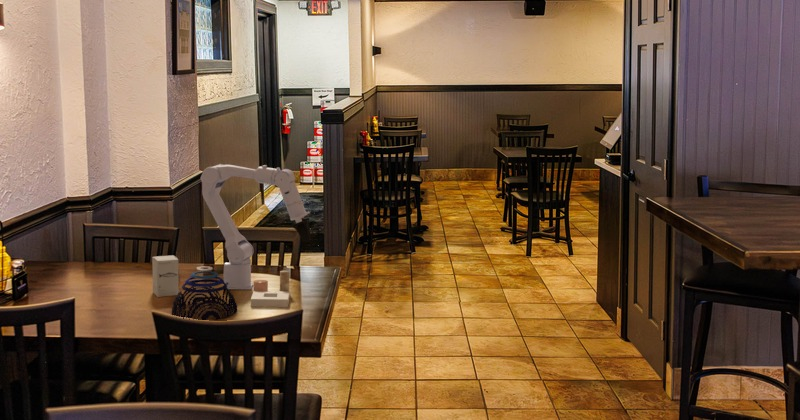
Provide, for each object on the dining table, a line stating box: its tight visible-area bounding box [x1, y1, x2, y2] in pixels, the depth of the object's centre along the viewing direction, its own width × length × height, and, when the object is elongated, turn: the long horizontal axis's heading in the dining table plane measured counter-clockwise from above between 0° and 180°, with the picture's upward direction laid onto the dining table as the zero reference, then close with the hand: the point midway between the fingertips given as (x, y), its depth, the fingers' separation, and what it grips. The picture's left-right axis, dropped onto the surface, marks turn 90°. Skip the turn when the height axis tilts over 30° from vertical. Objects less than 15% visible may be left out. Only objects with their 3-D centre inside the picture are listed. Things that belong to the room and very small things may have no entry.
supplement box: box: [151, 254, 180, 298], centre depth 292 cm, size 7×7×13 cm
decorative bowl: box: [171, 265, 238, 321], centre depth 273 cm, size 20×20×14 cm
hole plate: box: [250, 290, 291, 308], centre depth 287 cm, size 12×10×2 cm
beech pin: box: [279, 270, 290, 291], centre depth 297 cm, size 3×3×8 cm
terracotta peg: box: [252, 279, 269, 292], centre depth 294 cm, size 5×5×5 cm
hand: (307, 240), depth 297 cm, fingers open, 7 cm apart
